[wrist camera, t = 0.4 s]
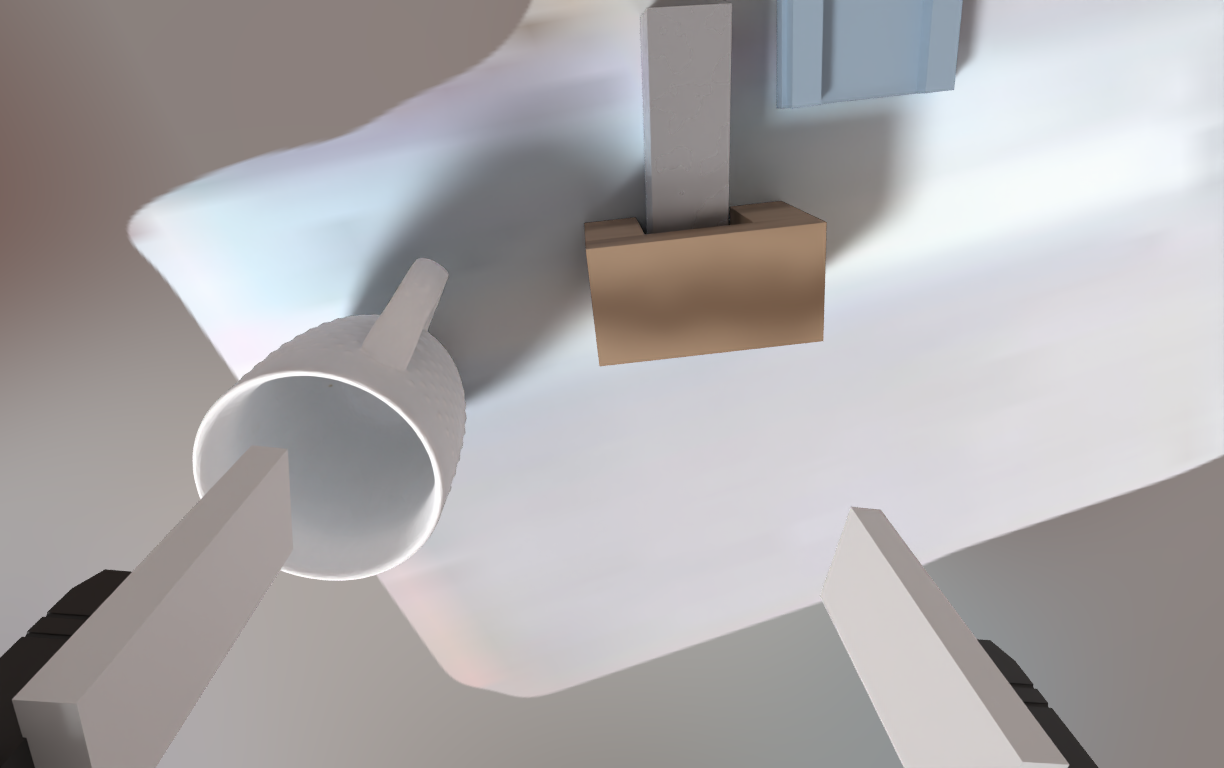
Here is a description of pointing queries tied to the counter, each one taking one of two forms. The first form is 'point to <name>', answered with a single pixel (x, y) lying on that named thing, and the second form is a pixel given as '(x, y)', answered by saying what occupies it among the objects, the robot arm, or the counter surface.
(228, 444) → the mug
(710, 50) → the shaft
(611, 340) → the bearing block
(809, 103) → the cradle
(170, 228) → the counter surface
